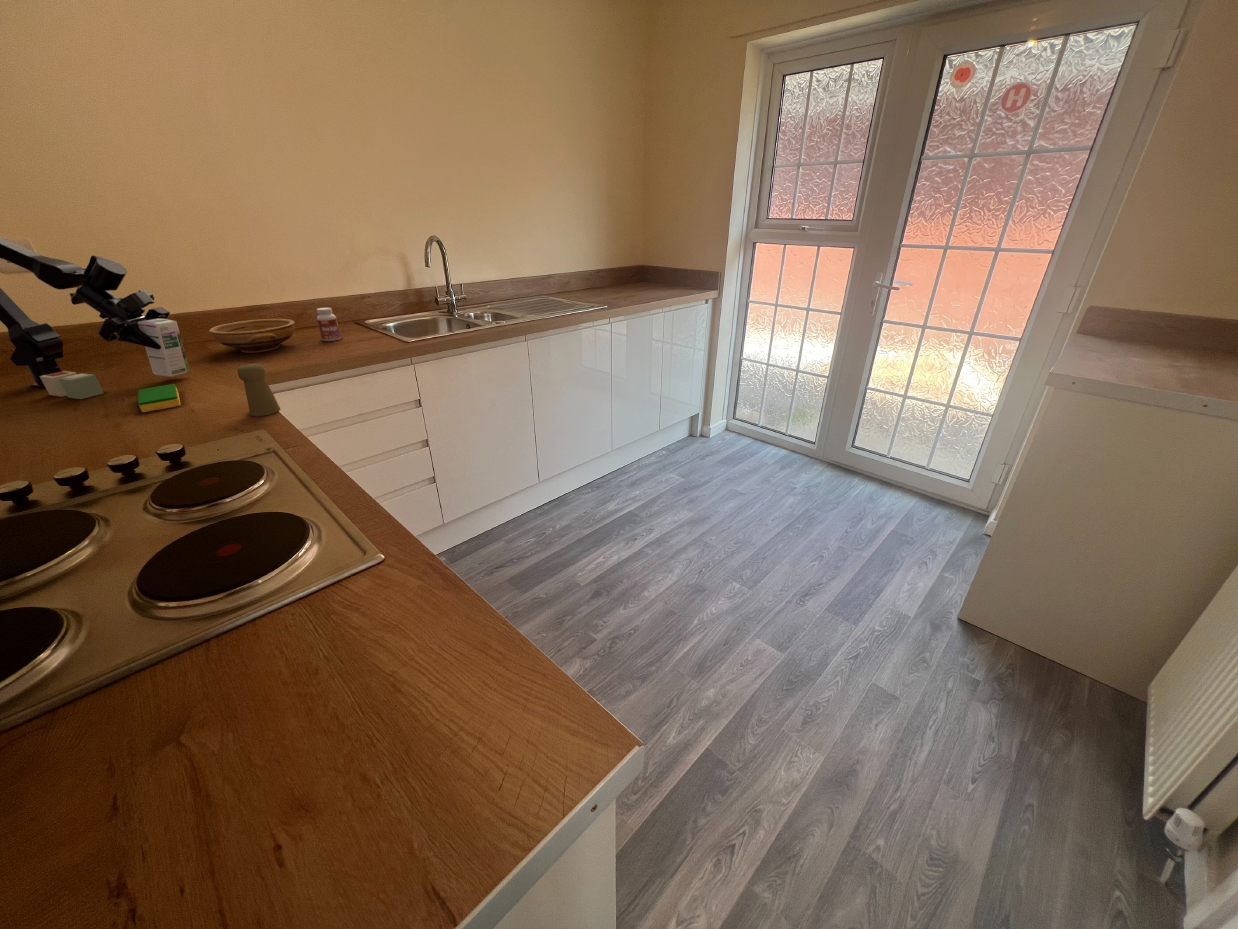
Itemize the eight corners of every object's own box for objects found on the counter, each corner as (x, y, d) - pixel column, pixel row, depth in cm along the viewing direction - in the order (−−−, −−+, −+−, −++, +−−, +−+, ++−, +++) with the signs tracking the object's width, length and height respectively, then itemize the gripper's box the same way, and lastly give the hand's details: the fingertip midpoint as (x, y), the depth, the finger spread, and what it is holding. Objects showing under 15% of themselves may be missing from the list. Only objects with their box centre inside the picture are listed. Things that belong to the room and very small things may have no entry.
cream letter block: (49, 395, 129) (39, 375, 127) (73, 389, 133) (63, 370, 131) (61, 396, 128) (51, 377, 125) (85, 390, 132) (75, 371, 130)
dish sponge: (178, 392, 130) (174, 383, 128) (181, 405, 120) (177, 396, 119) (142, 398, 125) (138, 389, 124) (142, 413, 116) (137, 403, 115)
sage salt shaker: (248, 418, 112) (230, 370, 107) (251, 409, 117) (235, 363, 112) (279, 413, 115) (263, 366, 110) (281, 405, 120) (266, 360, 115)
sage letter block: (67, 397, 127) (57, 378, 125) (91, 391, 131) (82, 372, 129) (80, 399, 125) (70, 379, 123) (104, 393, 130) (94, 374, 127)
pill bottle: (324, 342, 180) (315, 310, 175) (321, 339, 184) (312, 308, 180) (342, 339, 183) (334, 308, 178) (340, 337, 188) (332, 306, 183)
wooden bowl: (311, 349, 170) (304, 325, 166) (225, 363, 155) (215, 337, 152) (289, 336, 189) (283, 315, 186) (211, 347, 175) (202, 324, 171)
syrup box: (171, 377, 137) (157, 323, 131) (151, 374, 137) (136, 320, 131) (190, 372, 142) (177, 320, 136) (171, 369, 142) (157, 317, 136)
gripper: (89, 284, 120) (156, 330, 126) (148, 276, 137) (205, 317, 142) (70, 319, 123) (137, 362, 129) (130, 306, 140) (187, 345, 145)
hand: (168, 345), depth 136 cm, fingers closed on syrup box, 6 cm apart
